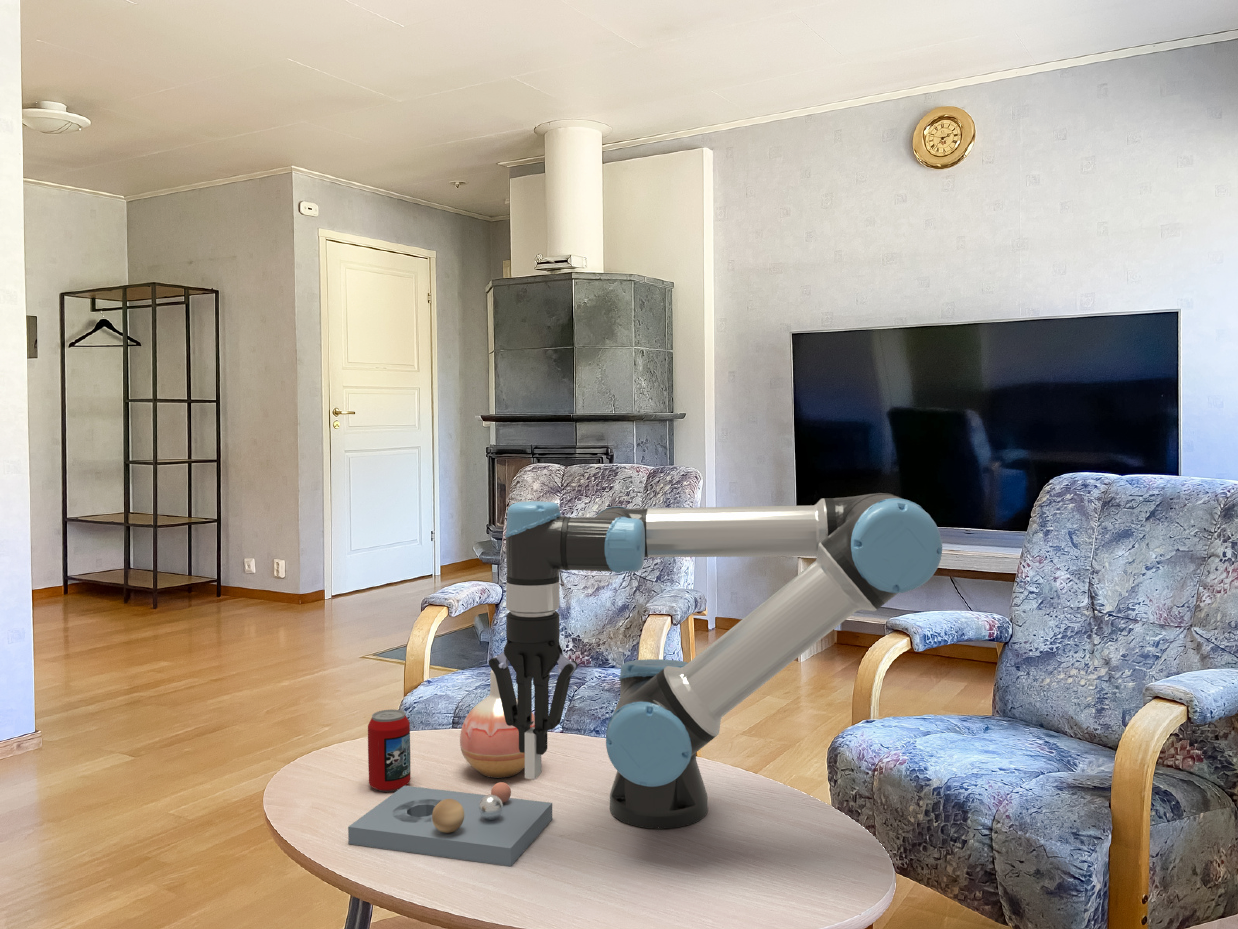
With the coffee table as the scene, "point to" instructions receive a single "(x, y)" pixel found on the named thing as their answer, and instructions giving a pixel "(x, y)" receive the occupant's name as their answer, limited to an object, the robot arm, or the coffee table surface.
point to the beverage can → (389, 750)
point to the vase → (491, 738)
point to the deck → (477, 839)
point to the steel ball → (490, 807)
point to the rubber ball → (501, 791)
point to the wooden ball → (448, 815)
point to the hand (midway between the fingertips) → (533, 775)
